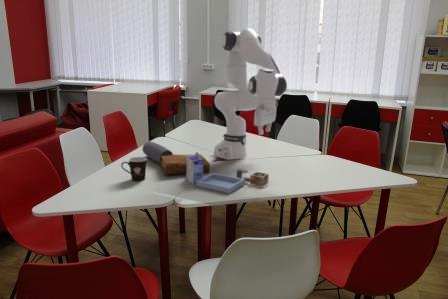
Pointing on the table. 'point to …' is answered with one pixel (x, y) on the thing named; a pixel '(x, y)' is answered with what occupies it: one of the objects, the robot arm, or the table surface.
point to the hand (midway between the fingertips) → (264, 133)
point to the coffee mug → (137, 168)
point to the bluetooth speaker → (155, 151)
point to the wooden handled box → (239, 175)
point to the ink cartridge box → (194, 168)
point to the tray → (220, 183)
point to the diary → (180, 164)
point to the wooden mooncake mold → (257, 178)
